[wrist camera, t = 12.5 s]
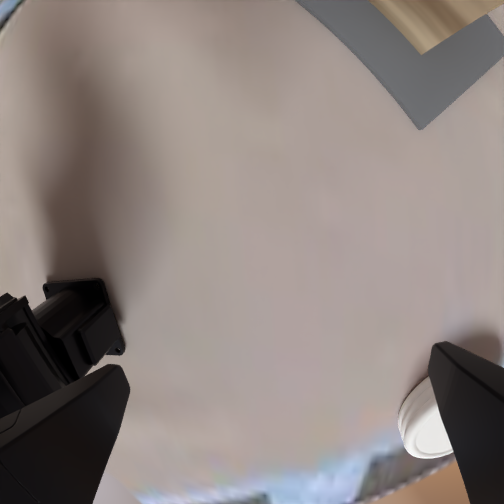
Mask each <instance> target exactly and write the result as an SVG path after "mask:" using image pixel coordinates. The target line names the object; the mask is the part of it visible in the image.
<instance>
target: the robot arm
mask: <svg viewBox="0 0 504 504" xmlns="http://www.w3.org/2000/svg"><path fill="white" fill-rule="evenodd" d="M96 283H97V284H98V285H99V287H97V285H96ZM43 291H44V294H45V297H46V301H44V302H43V303H42V304H40V305H39V306H37V307H36V308H35V309H33V310H31V308H30V307H29V305H28V303H29V302H28V300H27V298H26V296H23V297H21V298H19V299H17V298H15V297H12V296H11V295H10V294H8V293H6V294H4V295H2V296H1V297H0V504H93V500H94V498H95V495H96V492H97V489H98V487H99V484H100V481H101V478H102V475H103V473H104V470H105V467H106V465H107V462H108V459H109V457H110V454H111V452H112V449H113V446H114V444H115V441H116V439H117V436H118V433H119V430H120V427H121V423H122V419H123V416H124V412H125V409H126V405H127V401H128V398H129V394H130V386H129V383H128V381H127V378H126V376H125V373H124V371H123V369H122V367H121V366H120V365H115V364H107V365H105V366H103V367H102V368H100V369H98V370H96V371H94V372H92V373H90V374H88V375H86V374H87V373H88V371H89V370H90V369H91V368H92V366H93V365H94V366H96V365H97V364H98V362H99V361H100V360H101V359H102V358H103V356H104V355H119V356H120V355H122V354H123V353H124V352H125V347H124V344H123V341H122V338H121V335H120V332H119V329H118V326H117V323H116V320H115V317H114V314H113V311H112V308H111V305H110V302H109V299H108V295H107V292H106V289H105V285H104V283H103V281H102V280H101V279H99V278H92V279H80V280H67V281H54V282H47V283H45V284H44V285H43ZM118 348H119V349H120V350H119V349H118ZM428 374H429V378H430V381H431V385H432V388H433V391H434V395H435V399H436V402H437V406H438V410H439V413H440V416H441V419H442V422H443V425H444V427H445V430H446V433H447V435H448V438H449V441H450V443H451V446H452V449H453V452H454V454H455V457H456V460H457V463H458V466H459V469H460V472H461V475H462V478H463V481H464V484H465V488H466V491H467V494H468V498H469V501H470V504H504V368H503V367H501V366H499V365H496V364H494V363H492V362H490V361H488V360H486V359H484V358H482V357H479V356H477V355H475V354H473V353H471V352H469V351H467V350H465V349H462V348H460V347H458V346H456V345H454V344H452V343H450V342H447V341H444V342H439V343H435V344H434V345H433V347H432V350H431V356H430V361H429V366H428ZM85 375H86V376H85ZM84 376H85V377H84Z"/></svg>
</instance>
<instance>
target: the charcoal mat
mask: <svg viewBox="0 0 504 504" xmlns="http://www.w3.org/2000/svg"><path fill="white" fill-rule="evenodd" d="M295 1H296V2H298V3H299V4H300V5H301V6H303V7H304V8H305V9H306V10H307V11H309V12H310V13H311V14H312V15H313V16H314V17H316V18H317V19H318V20H319V21H320V22H321V23H322V24H324V25H325V26H326V27H327V28H328V29H329V30H330V31H331V32H332V33H333V34H334V35H335V36H337V37H338V38H339V39H340V40H341V41H342V42H343V43H344V44H345V45H346V46H347V47H348V48H349V49H350V50H351V51H352V52H353V53H354V54H355V55H356V56H357V57H358V58H359V59H360V60H361V61H362V63H363V64H364V65H365V66H366V67H367V68H368V69H369V70H370V71H371V72H372V73H373V74H374V76H375V77H376V78H377V79H378V80H379V81H380V82H381V83H382V85H383V86H384V87H385V88H386V89H387V90H388V92H389V93H390V94H391V95H392V96H393V98H394V99H395V100H396V101H397V103H398V104H399V105H400V106H401V108H402V109H403V110H404V111H405V113H406V114H407V115H408V117H409V118H410V119H411V120H412V122H413V123H414V124H415V126H416V127H417V129H418V130H422V129H424V128H425V127H426V126H427V125H428V124H429V123H430V122H431V121H433V120H434V119H435V118H436V117H437V116H438V115H439V114H440V113H442V112H443V111H444V110H445V109H446V108H447V107H448V106H449V105H450V104H452V103H453V102H454V101H455V100H456V99H457V98H458V97H459V96H460V95H462V94H463V93H464V92H465V91H466V90H467V89H468V88H469V87H470V86H472V85H473V84H474V83H475V82H476V81H477V80H478V79H479V78H480V77H481V76H483V75H484V74H485V73H486V72H487V71H488V70H489V69H490V68H491V67H492V66H493V65H495V64H496V63H497V62H498V61H499V60H500V59H501V58H502V57H503V56H504V36H503V35H502V33H501V32H500V31H499V29H498V28H497V27H496V25H495V24H494V23H493V21H492V20H491V19H490V17H489V16H488V15H487V14H485V15H483V16H482V17H480V18H478V19H477V20H475V21H474V22H472V23H470V24H469V25H467V26H465V27H464V28H462V29H461V30H459V31H458V32H456V33H454V34H453V35H451V36H450V37H448V38H447V39H445V40H444V41H442V42H440V43H439V44H437V45H436V46H434V47H433V48H431V49H430V50H428V51H427V52H425V53H424V54H422V55H421V54H420V53H419V52H418V51H417V50H416V49H415V48H414V46H413V45H412V44H411V43H410V42H409V41H408V40H407V39H406V38H405V36H404V35H403V34H402V33H401V32H400V31H399V30H398V29H397V28H396V27H395V26H394V25H393V24H392V23H391V22H390V21H389V20H388V19H387V18H386V17H385V16H384V15H383V14H382V13H381V12H380V11H379V10H378V9H377V8H376V7H375V6H374V5H373V4H371V3H370V2H369V1H368V0H295Z"/></svg>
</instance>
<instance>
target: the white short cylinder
mask: <svg viewBox="0 0 504 504" xmlns="http://www.w3.org/2000/svg"><path fill="white" fill-rule="evenodd" d="M398 428H399V431H400V432H401V437H402V440H403V441H404V447H405V449H406V450H407V451H408V453H410V454H411V455H412V456H414V457H418V458H437V457H441V456H444V455H447V454H450V453H452V452H453V449H452V446H451V443H450V441H449V438H448V435H447V433H446V430H445V427H444V425H443V422H442V419H441V416H440V413H439V410H438V406H437V402H436V399H435V395H434V391H433V388H432V385H431V381H430V378H429V376H428V377H427V378H426V379H424V380H423V381H422V382H421V383H420V384H419V385H418V386H417V387H416V388H415V389H414V390H413V391H412V392H411V393H410V394H409V396H408V397H407V398H406V400H405V401H404V403H403V405H402V407H401V409H400V411H399V415H398Z"/></svg>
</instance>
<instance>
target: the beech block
mask: <svg viewBox="0 0 504 504" xmlns="http://www.w3.org/2000/svg"><path fill="white" fill-rule="evenodd" d="M368 1H369V2H370V3H371V4H373V5H374V6H375V7H376V8H377V9H378V10H379V11H380V12H381V13H382V14H383V15H384V16H385V17H386V18H387V19H388V20H389V21H390V22H391V23H392V24H393V25H394V26H395V27H396V28H397V29H398V30H399V31H400V32H401V33H402V34H403V35H404V36H405V38H406V39H407V40H408V41H409V42H410V43H411V44H412V45H413V46H414V48H415V49H416V50H417V51H418V52H419V53H420V54H421V55H422V54H424V53H425V52H427V51H428V50H430V49H431V48H433V47H434V46H436V45H437V44H439V43H440V42H442V41H444V40H445V39H447V38H448V37H450V36H451V35H453V34H454V33H456V32H458V31H459V30H461V29H462V28H464V27H465V26H467V25H469V24H470V23H472V22H474V21H475V20H477V19H478V18H480V17H482V16H483V15H485V14H487V13H488V12H490V11H492V10H493V9H495V8H497V7H499V6H500V5H502V4H504V0H368Z"/></svg>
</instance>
